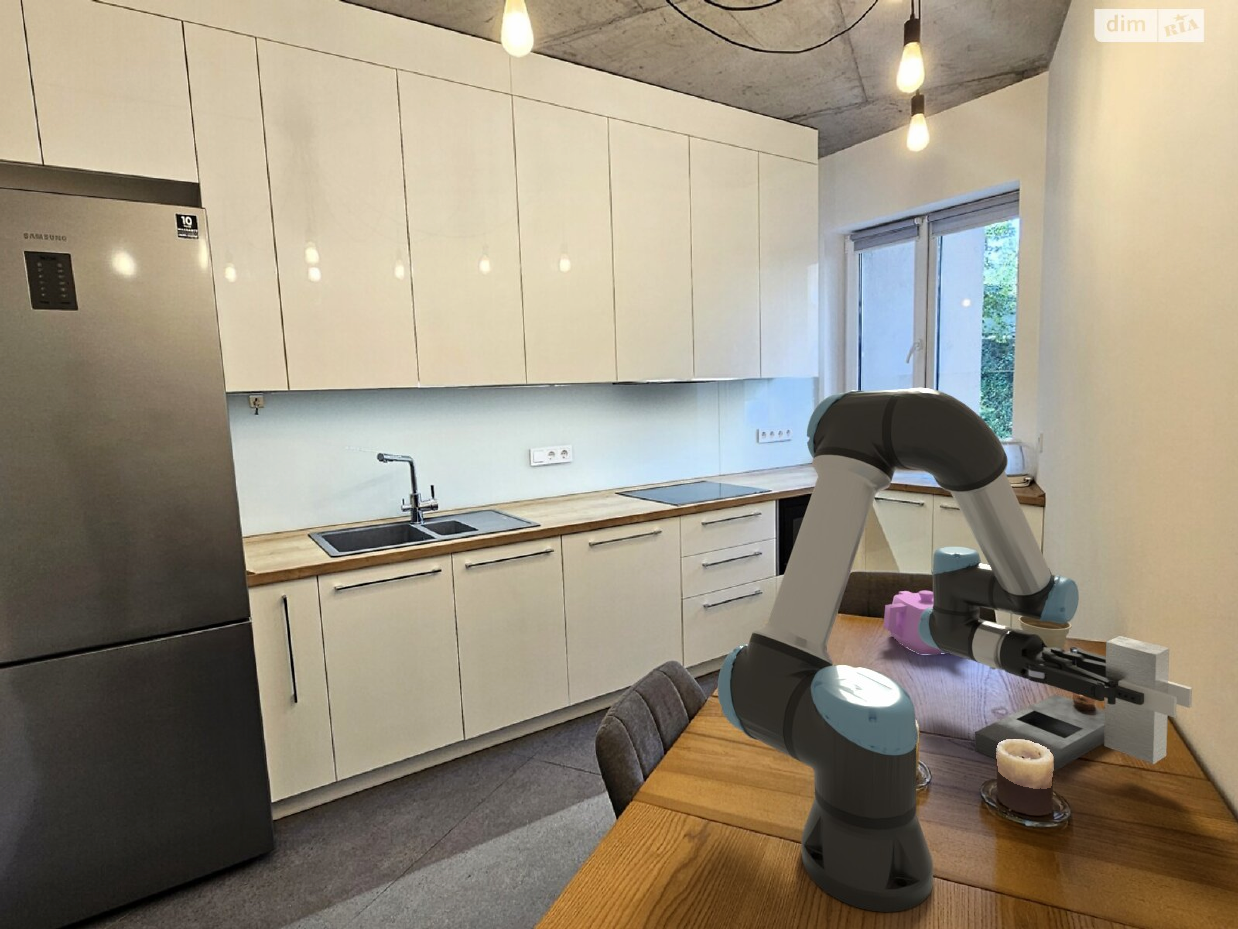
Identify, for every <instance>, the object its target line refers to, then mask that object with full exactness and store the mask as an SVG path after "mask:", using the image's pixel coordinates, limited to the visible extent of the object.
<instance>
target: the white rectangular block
mask: <svg viewBox="0 0 1238 929" xmlns="http://www.w3.org/2000/svg"><path fill="white" fill-rule="evenodd" d="M1105 644H1106V645H1105V646H1106V647H1105V657H1106V678H1107V679H1110V680H1113V681H1115V682H1116V685H1118V681H1120V680H1122V681H1125V682H1129V683H1132V684H1135V685H1139V686H1142V687H1145V688H1149V689H1152V690H1155V691H1159V692H1162V693H1165V694H1168V681H1169V677H1170V676H1169V672H1170V669H1169V668H1170V647H1166V646H1163V645H1159V644H1155V643H1151V642H1146V641H1141V640H1138V639H1134V638H1130V637H1125V636H1123V635H1122V636H1121V635H1119V636H1117V637H1115V638H1112V639H1110V640H1108V641H1106V642H1105ZM1104 710H1105V737H1104V743H1103V745H1104V747H1106V748H1109V749H1112V750H1114V751H1116V752H1119V753H1122V754H1124V755H1127V756H1130V757H1132V758H1135V759H1137V760H1140V761H1143V762H1145V763H1148V764H1151V765H1154V764H1156V763H1158V762H1160V760H1162V759H1164V758H1165V757H1167V746H1168V745H1167V743H1168V740H1167V739H1168V737H1167V736H1168V715H1165V714H1161V713H1158V712H1155V711H1152V710H1149V709H1146V708H1143V707H1140V706H1137V705H1134V704H1130V703H1127V702H1124V701H1121V700H1118V698H1116V704H1114V705H1112V704H1108V698H1105V697H1104Z"/></svg>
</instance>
